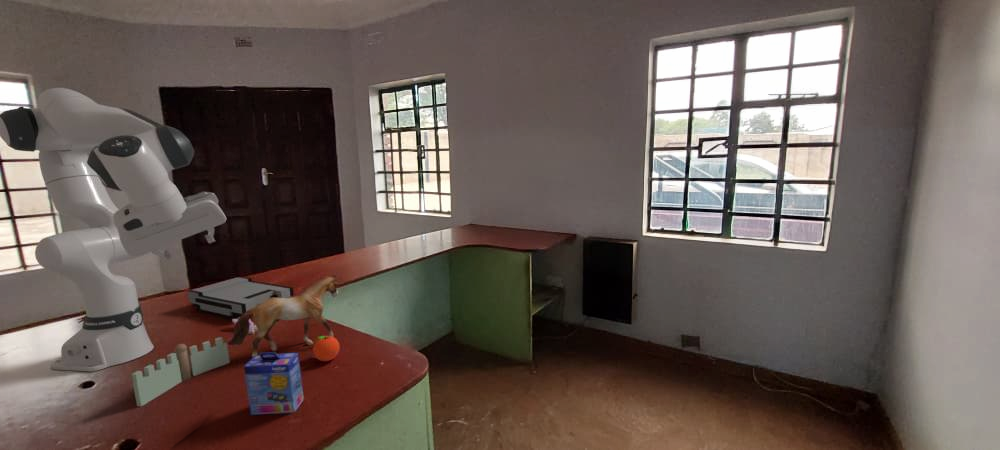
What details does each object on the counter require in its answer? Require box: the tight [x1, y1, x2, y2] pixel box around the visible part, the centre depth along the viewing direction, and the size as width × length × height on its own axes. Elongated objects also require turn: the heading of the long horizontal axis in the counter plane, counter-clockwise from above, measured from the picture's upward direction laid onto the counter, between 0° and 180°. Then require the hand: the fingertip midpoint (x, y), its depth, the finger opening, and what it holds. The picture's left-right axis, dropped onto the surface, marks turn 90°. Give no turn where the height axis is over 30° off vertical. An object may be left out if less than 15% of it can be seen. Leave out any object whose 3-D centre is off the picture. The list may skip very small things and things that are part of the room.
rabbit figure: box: [231, 317, 258, 336], centre depth 133 cm, size 6×6×15 cm
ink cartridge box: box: [243, 351, 305, 416], centre depth 90 cm, size 10×6×14 cm, turn 95°
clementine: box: [312, 335, 341, 362], centre depth 113 cm, size 8×7×7 cm
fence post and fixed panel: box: [173, 336, 230, 382], centre depth 106 cm, size 11×3×10 cm, turn 144°
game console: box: [187, 276, 295, 320], centre depth 156 cm, size 21×32×8 cm, turn 66°
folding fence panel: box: [131, 352, 183, 407], centre depth 96 cm, size 10×1×8 cm, turn 174°
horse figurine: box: [227, 274, 340, 358], centre depth 117 cm, size 31×8×21 cm, turn 123°
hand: (190, 249), depth 99 cm, fingers open, 8 cm apart
